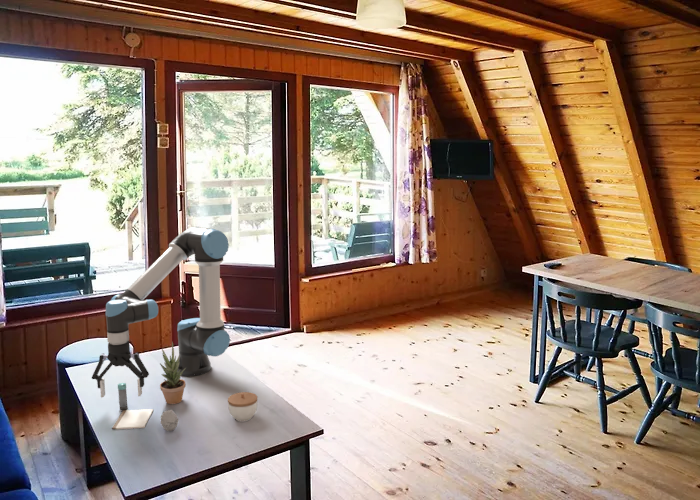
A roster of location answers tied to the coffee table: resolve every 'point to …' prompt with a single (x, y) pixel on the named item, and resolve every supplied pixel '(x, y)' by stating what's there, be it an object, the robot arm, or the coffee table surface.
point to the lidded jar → (242, 405)
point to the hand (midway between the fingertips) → (121, 395)
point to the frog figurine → (169, 420)
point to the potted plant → (172, 380)
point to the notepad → (133, 419)
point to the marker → (122, 396)
